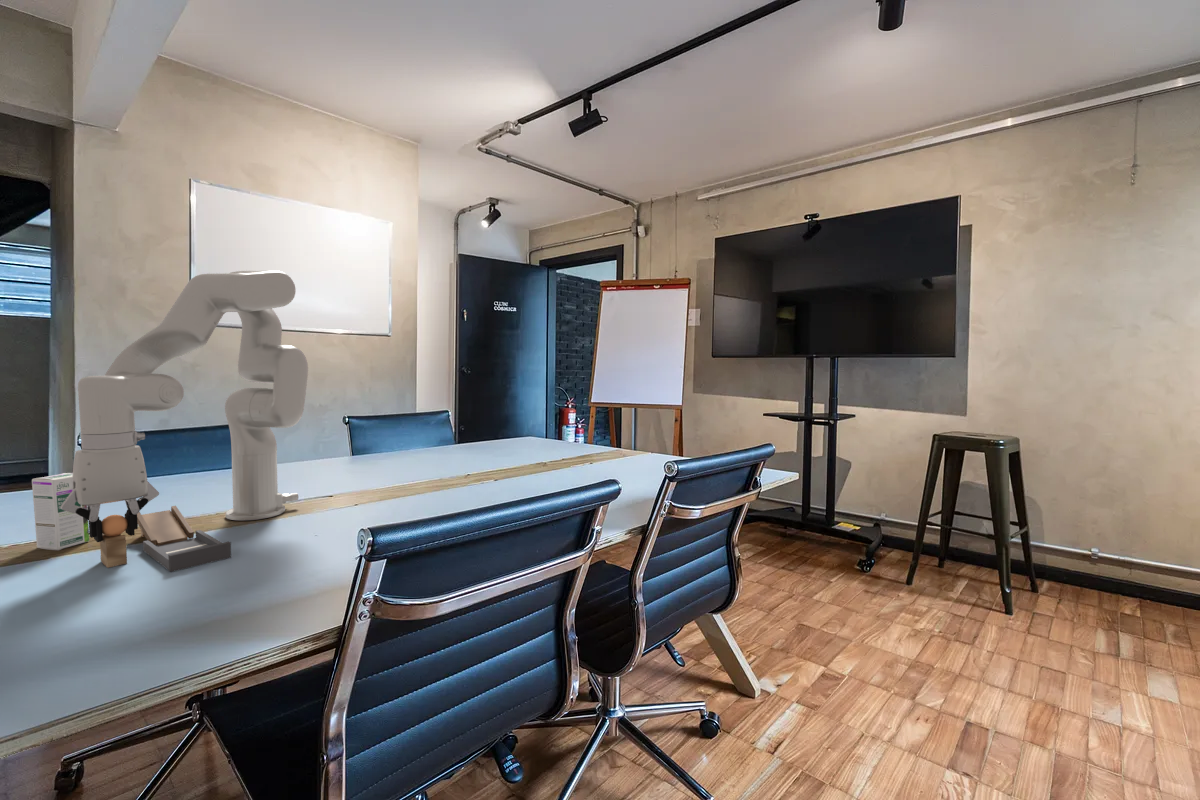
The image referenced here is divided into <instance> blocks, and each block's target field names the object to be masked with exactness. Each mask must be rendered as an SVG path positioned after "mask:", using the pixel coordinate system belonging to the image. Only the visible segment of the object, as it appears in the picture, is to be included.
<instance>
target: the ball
mask: <svg viewBox="0 0 1200 800" xmlns="http://www.w3.org/2000/svg"><path fill="white" fill-rule="evenodd" d="M101 521H102V533H103V534H104V535H106V536H117V535H120V534H121V535H123V533H124V532H126V531H125V530H126V529H127V526H128V522H127V519H126V518H125V516H123V515H120V514H110V515H108V516H106V517H104V518H103V519H101Z"/></svg>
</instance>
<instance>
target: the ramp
mask: <svg viewBox="0 0 1200 800" xmlns="http://www.w3.org/2000/svg"><path fill="white" fill-rule="evenodd" d="M137 521H138V528H139V529H140V537H142V538H145V539H146V541H147V540H148V541H150V542H151V543H153V544H154V545H155V546H159V545H164V544H169V543H174V542H178V541H183V540H188V539H192V538H195V537H194V534H195V531H194V530H193V528H192V527H191V526H190V524H189V523H188V521H187V520H186V518H185V517H184V515H183V514H182V512H181V511H180V509H179V508H178V507H177V506H176V505H171V508H170V509H168V510H167V509H166V510H162V511H155V512H151V513H144V514H141V511H140V512H139V513H138V514H137Z"/></svg>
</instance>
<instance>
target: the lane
mask: <svg viewBox="0 0 1200 800" xmlns="http://www.w3.org/2000/svg"><path fill="white" fill-rule="evenodd" d="M231 545H232V542H230V541H229V540H228V541H225V542H222V541H220V540H218V539H217V538H215V537H213V536H211V535H210V534H208V533H206V532H205V531H203V530H201V529H198V530H197V529H196V530H195V537H194V538H190V539H189V538H188V540H183V541H178V542H174V543H169V544H164V545H159V546H157V545H156V546H155V545H154V544H153V543H151V542H150V541H148V540H147V539H146V540H143V541H142V546H143V547H142V549H143V550H142V551H143V552H144V553H145V554H147V555H148V556H149V557H150V558H152V559H153V560H154V561H156V562H158V563H159V564H160V565H161V566H162V567H163V568H165V569H166V570H167V571H169V572H170V573H172V572H173V573H174V572H177V571H181V570H185V569H189V568H193V567H198V566H202V565H205V564H209V563H213V562H218V561H223V560H226V559H230V558H232V548H231Z"/></svg>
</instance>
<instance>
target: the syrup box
mask: <svg viewBox="0 0 1200 800" xmlns="http://www.w3.org/2000/svg"><path fill="white" fill-rule="evenodd" d="M31 486H32V487H31V489H32V500H33V512H34V524H35V525H34V527H35V540H36V548H38V549H43V550H48V551H49V550H50V551H60V550H63V549H67V548H71V547H74V546H77V545H80V544H84V543H87V542H88V543H89V542H90V534H89V520H87V519H85V518H83V517H82V516H80V515H78V514H75V513H71V512H68V511H64V510H62V509H61V505H62V504H63V502H64V501H65V500H66V498H67V497H68V496H69V494H70V493H71V492H72V491H73V472H67V473H66V472H63V473H59V474H53V475H49V476H44V477H43V476H42V477H36V478H32V479H31ZM75 505H76V506H79V507H82V508H84V509H86V510H87V506H85V505H80V504H79V503H78V502H77V501H76V502H75Z"/></svg>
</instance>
